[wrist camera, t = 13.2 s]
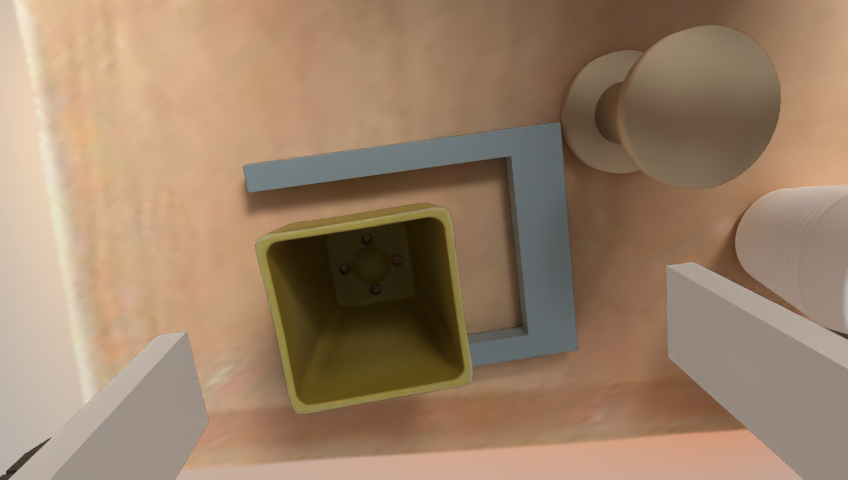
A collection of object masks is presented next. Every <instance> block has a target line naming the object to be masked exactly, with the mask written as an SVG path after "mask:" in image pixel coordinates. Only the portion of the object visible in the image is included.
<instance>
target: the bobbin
mask: <svg viewBox="0 0 848 480" xmlns="http://www.w3.org/2000/svg"><path fill="white" fill-rule="evenodd" d="M780 101H781V97H780V85H779V80H778V76H777V73H776V70H775V67H774V65H773V63H772V61H771V59H770V57H769V56H768V54H767V53H766V51H765V50H764V49H763V48H762V47H761V46H760V45H759V44H758V43H757V42H756V41H755V40H754V39H752V38H751V37H750V36H748V35H746V34H745V33H743V32H741V31H739V30H736V29H734V28H730V27H726V26H720V25H702V26H697V27H692V28H689V29H686V30H682V31H679V32H676V33H673V34H671V35H668V36H666V37H664V38H662V39H660V40H659V41H657V42H656V43H654V44H653V45H651V46H650V47H649V48H648V49H647V50H646V51H645V52H642V51H638V50H621V51H616V52H612V53H609V54H606V55H603V56H600V57H598V58H596V59H594V60H592V61H591V62H589V63H588V64H586V65H585V66H584V67H583V68H582V69H581V70H580V71H579V72H578V73H577V74H576V75H575V76H574V78H573V79H572V81H571V82H570V84H569V86H568V88H567V90H566V92H565V95H564V97H563V101H562V106H561V127H562V132H563V135H564V138H565V140H566V143H567V145H568V146H569V148H570V150H571V151H572V152H573V153H574V155H575V156H576V157H577V158H578V159H579V160H580V161H582V162H583V163H585V164H586V165H588V166H590V167H592V168H594V169H597V170H600V171H605V172H610V173H618V174H623V173H631V172H636V171H639V170H640V171H641V172H642V173H644V174H645V175H646V176H648V177H649V178H651V179H653V180H655V181H657V182H660V183H663V184H666V185H671V186H675V187H680V188H685V189H705V188H710V187H715V186H718V185H721V184H724V183H726V182H728V181H730V180H732V179H734V178H736V177H737V176H739V175H740V174H742V173H743V172H744V171H746V170H747V169H748V168H749V167H750V166H751V165H752V164H753V163H754V162H755V161H756V160H757V159H758V158H759V157H760V155H761V154H762V153H763V151H764V150H765V148H766V147H767V145H768V143H769V142H770V140H771V138H772V135H773V133H774V131H775V128H776V125H777V121H778V117H779V112H780Z"/></svg>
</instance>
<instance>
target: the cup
mask: <svg viewBox="0 0 848 480" xmlns="http://www.w3.org/2000/svg"><path fill="white" fill-rule="evenodd" d="M735 249H736V254H737V257H738V260H739V262H740V264H741V266H742V267H743V268H744V270H745V271H746V272H747V273H748V274H749V275H750V276H752V277H753V278H754V279H756V280H757V281H758V282H760V283H761V284H763V285H764V286H765V287H767V288H768V289H770V290H772V291H773V292H774V293H776V294H777V295H778V296H780V297H781V298H782V299H784V300H785V301H787V302H788V303H789V304H791V305H792V306H793V307H795V308H797V309H798V310H799V311H800V312H802V313H803V314H805V315H806V316H808V317H809V318H810V319H811V320H813V321H815V322H816V323H817V324H819V325H820V326H822V327H824V328H828V329H831V330H835V331H838V332H842V333H845V334H848V185H835V186H834V185H832V186H817V187H798V188H785V189H778V190H775V191H772V192H769V193H767V194H766V195H764V196H762V197H760V198H759V199H758V200H756V201H755V202H754V203H753V204H752V205H751V206H750V207H749V208H748V209H747V211H746V212H745V214H744V215H743V217H742V218H741V220H740V223H739V225H738V228H737V232H736V237H735Z"/></svg>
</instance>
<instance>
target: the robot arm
mask: <svg viewBox="0 0 848 480" xmlns="http://www.w3.org/2000/svg"><path fill="white" fill-rule="evenodd" d="M666 285H667V339H668V358H669V359H670V360H671V361H673V362H674V363H675V364H676V365H677V366H678V367H679V368H680V369H681V370H683V371H684V372H685V373H686V374H687V375H688V376H689V377H690V378H692V379H693V380H694V381H695V382H696V383H697V384H698V385H699V386H700V387H702V388H703V389H704V390H705V391H706V392H707V393H708V394H709V395H710V396H712V397H713V398H714V399H715V400H716V401H717V402H718V403H719V404H720V405H722V406H723V407H724V408H725V409H726V410H727V411H728V412H729V413H731V414H732V415H733V416H734V417H735V418H736V419H737V420H738V421H739V422H741V423H742V424H743V425H744V426H745V427H746V428H747V429H748V430H749V431H751V432H752V433H753V434H754V435H755V436H756V437H757V438H759V439H760V440H761V441H762V442H763V443H764V444H765V445H766V446H767V447H768V448H770V449H771V450H772V451H773V452H774V453H775V454H776V455H777V456H779V457H780V458H781V459H782V460H783V461H784V462H785V463H786V464H787V465H789V466H790V467H791V468H792V469H793V470H794V471H795V472H796V473H797V474H799V475H800V476H801V477H802V478H803V479H804V480H848V334H845V333H842V332H838V331H835V330H831V329H828V328H824V327H822V326H820V325H818V324H816V323H814V322H812V321H810V320H808V319H806V318H804V317H802V316H800V315H798V314H796V313H794V312H792V311H790V310H788V309H786V308H784V307H782V306H780V305H778V304H776V303H774V302H772V301H770V300H768V299H766V298H764V297H762V296H760V295H758V294H756V293H754V292H752V291H750V290H748V289H746V288H744V287H742V286H740V285H738V284H736V283H734V282H732V281H730V280H728V279H726V278H725V277H723V276H721V275H719V274H717V273H715V272H713V271H711V270H709V269H707V268H705V267H703V266H701V265H699V264H697V263H695V262H688V263H681V264H674V265H666ZM208 423H209V420H208V416H207V412H206V408H205V404H204V400H203V396H202V392H201V388H200V384H199V379H198V375H197V371H196V367H195V363H194V359H193V355H192V351H191V347H190V343H189V338H188V334H187V331H184V332H176V333H169V334H162V335H157V336H156V337H155V338H154V339H153V340H152V341H151V342H150V343H149V344H148V345H147V346H146V347H145V348H144V349H143V350H142V351H141V352H140V353H139V354H138V355H137V356H136V357H135V358H134V359H133V360H132V361H131V362H130V363H129V364H127V365H126V366H125V367H124V368H123V369H122V370H121V371H120V372H119V373H118V374H117V375H116V376H115V377H114V378H113V379H112V380H111V381H110V382H109V383H108V384H107V385H106V386H105V387H104V388H103V389H102V390H101V391H100V392H99V393H97V394H96V395H95V396H94V397H93V398H92V399H91V400H90V401H89V402H88V403H87V404H86V405H85V406H84V407H83V408H82V409H81V410H80V411H79V412H78V413H77V414H76V415H75V416H74V417H73V418H72V419H71V420H70V421H69V422H68V423H66V424H65V425H64V426H63V427H62V428H61V429H60V430H59V431H58V432H57V433H56V434H55V435H54V436H53V437H51V438H49V439H48V440H46V441H44V442H43V443H41V444H40V445H38V446H37V447H35V448H33V449H32V450H30V451H29V452H27V453H25V454H24V455H23V456H22V457H21V458H20V459H19V460H18V461H17V462H16V463H15V464H14V465H13V466H11V467H10V468H9V469H8V470H7V471H6V474H5V475H2V476H1V477H0V480H175V479H176V477H177V476H178V474H179V472H180V471H181V469H182V467H183V466H184V464H185V462H186V460H187V459H188V457H189V455H190V454H191V452H192V450H193V448H194V447H195V445H196V443H197V442H198V440H199V438H200V436H201V435H202V433H203V431H204V430H205V428H206V426H207V425H208Z"/></svg>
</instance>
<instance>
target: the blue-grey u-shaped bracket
mask: <svg viewBox="0 0 848 480" xmlns="http://www.w3.org/2000/svg"><path fill="white" fill-rule="evenodd" d="M501 157H506V165H507V175H508V185H509V195H510V205H511V215H512V225H513V235H514V245H515V255H516V265H517V275H518V286H519V296H520V306H521V316H522V326H521V327H514V328H508V329H501V330H495V331H488V332H482V333H475V334H469V335H468V342H469V348H470V355H471V361H472V367H473V366H480V365H486V364H493V363H499V362H505V361H512V360H518V359H525V358H531V357H537V356H544V355H550V354H556V353H563V352H569V351H576V350H578V344H577V331H576V318H575V305H574V292H573V279H572V266H571V253H570V240H569V227H568V214H567V201H566V188H565V175H564V162H563V149H562V136H561V123H560V122H552V123H545V124H538V125H531V126H523V127H516V128H509V129H501V130H494V131H487V132H480V133H472V134H465V135H458V136H450V137H443V138H436V139H429V140H421V141H414V142H407V143H400V144H392V145H385V146H378V147H370V148H363V149H356V150H349V151H341V152H334V153H327V154H319V155H312V156H305V157H298V158H290V159H283V160H276V161H269V162H261V163H254V164H248V165H245V166H243V169H244V174H245V179H246V184H247V189H248V193H250V192H257V191H265V190H272V189H279V188H286V187H293V186H300V185H307V184H315V183H322V182H329V181H336V180H343V179H350V178H358V177H365V176H372V175H379V174H386V173H393V172H401V171H408V170H415V169H422V168H429V167H436V166H443V165H451V164H458V163H465V162H472V161H479V160H486V159H494V158H501Z"/></svg>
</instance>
